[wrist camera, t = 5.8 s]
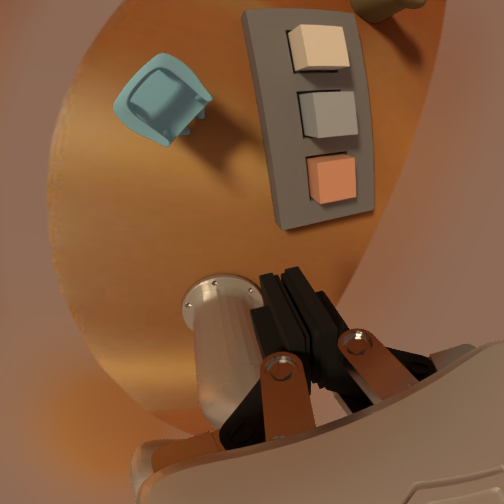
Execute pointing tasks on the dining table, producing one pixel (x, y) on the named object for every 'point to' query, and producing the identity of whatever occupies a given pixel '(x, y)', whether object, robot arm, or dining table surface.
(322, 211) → the button panel
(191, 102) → the chair
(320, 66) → the cream button
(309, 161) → the terracotta button
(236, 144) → the dining table surface
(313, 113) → the slate button
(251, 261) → the dining table surface
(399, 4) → the cork
